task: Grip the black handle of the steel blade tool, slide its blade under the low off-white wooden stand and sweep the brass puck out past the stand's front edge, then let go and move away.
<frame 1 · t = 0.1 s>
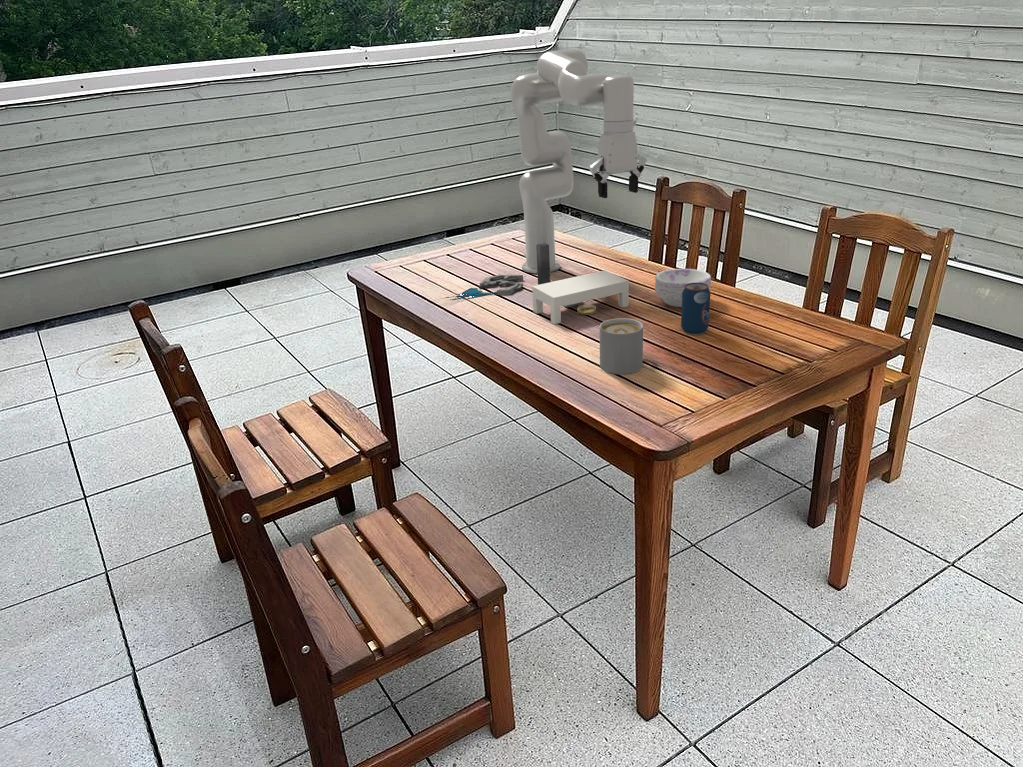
hand: (618, 194, 205), 31 cm above the table, tool pointing down, fingers open, 9 cm apart
brass puck: (586, 312, 215), on the table
low stand: (580, 308, 218), on the table
blade tool: (544, 289, 235), on the table
coffee mug: (626, 364, 182), on the table
paper bowls: (681, 302, 218), on the table
weapon: (477, 294, 236), on the table
soda can: (694, 331, 198), on the table
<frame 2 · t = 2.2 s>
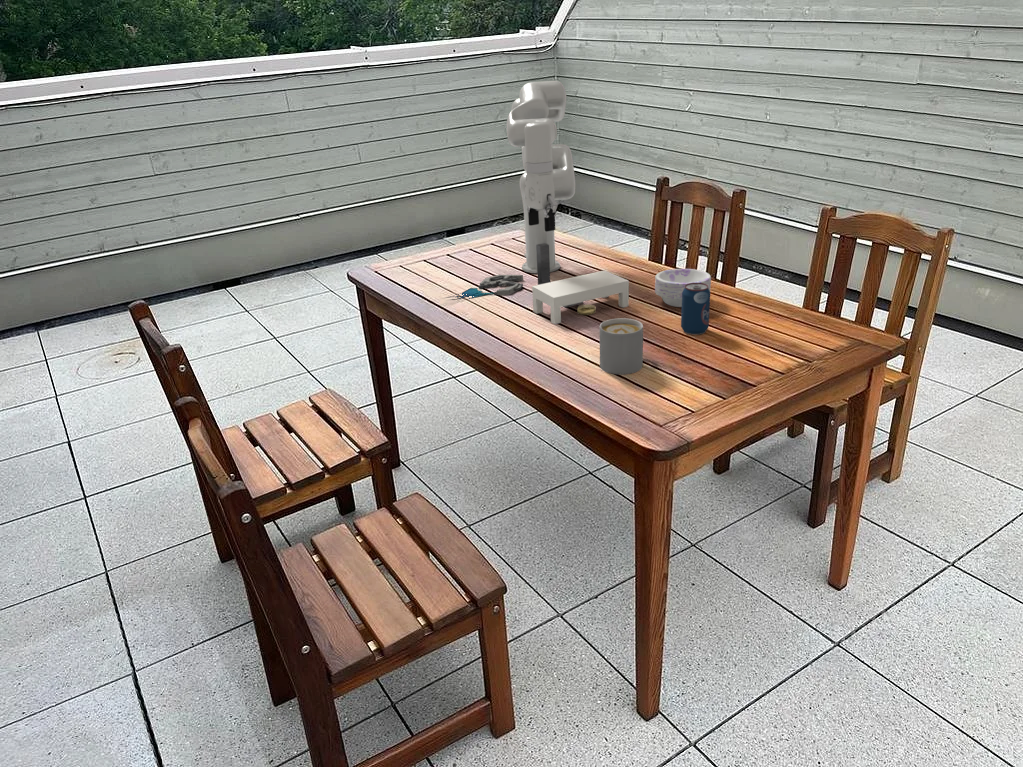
hand: (541, 227, 226), 19 cm above the table, tool pointing down, fingers open, 9 cm apart
nothing on the table moved.
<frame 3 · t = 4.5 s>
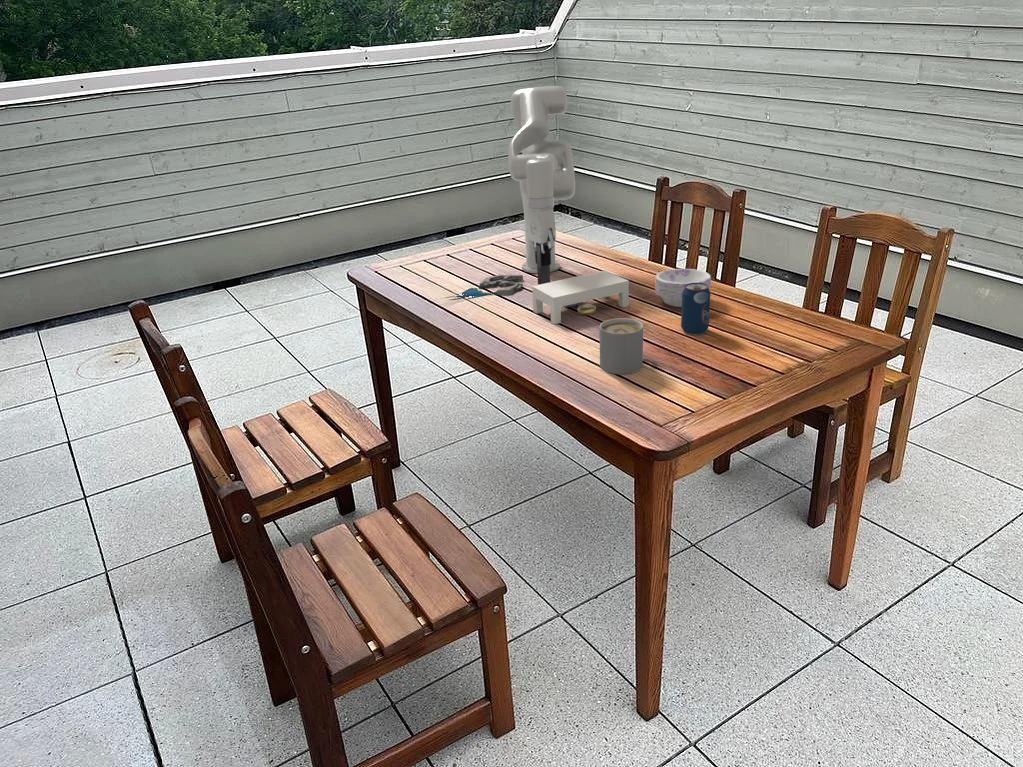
hand: (543, 263, 231), 8 cm above the table, tool pointing down, fingers closed on blade tool, 2 cm apart
blade tool: (544, 289, 235), on the table, touching gripper
everything else where it was.
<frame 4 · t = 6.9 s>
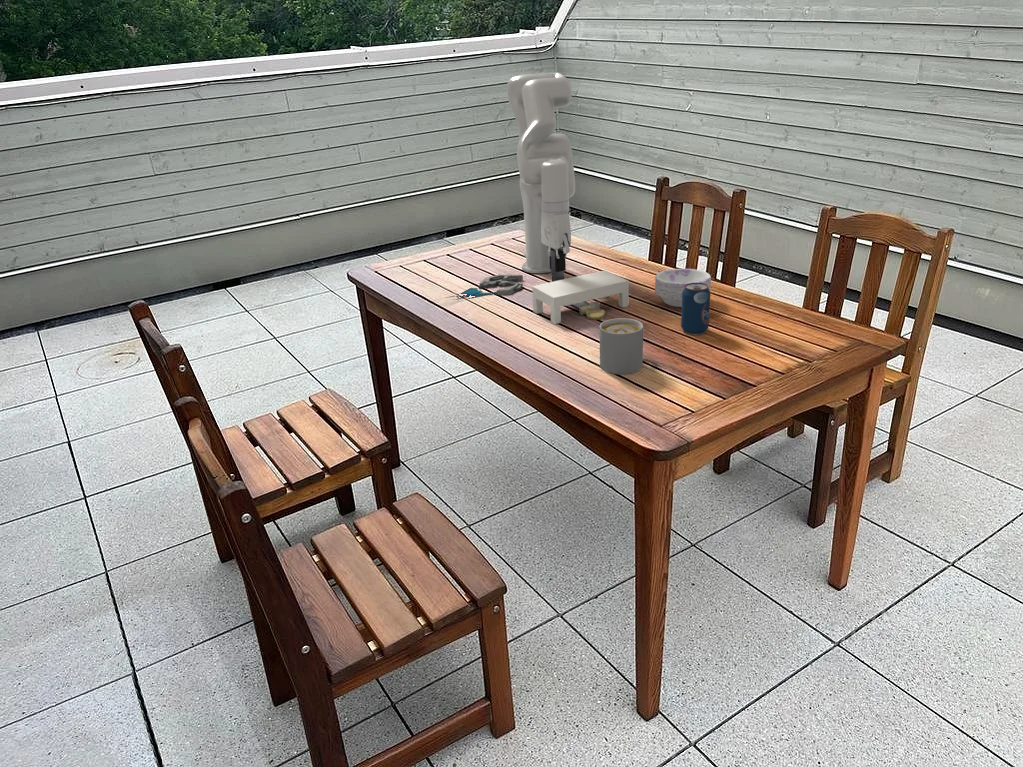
hand: (557, 269, 224), 9 cm above the table, tool pointing down, fingers closed on blade tool
brass puck: (595, 317, 211), on the table, touching blade tool
blade tool: (558, 296, 227), on the table, touching brass puck, gripper
everything else where it was.
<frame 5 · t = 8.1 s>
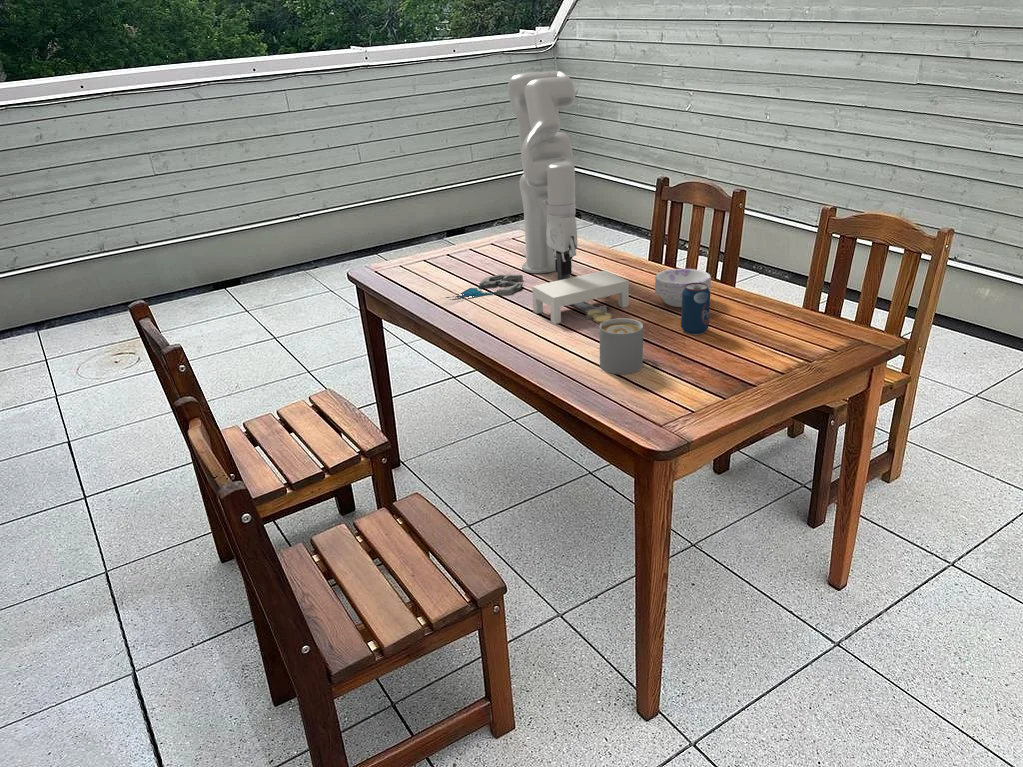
hand: (563, 272, 221), 8 cm above the table, tool pointing down, fingers closed on blade tool
brass puck: (602, 321, 209), on the table
blade tool: (564, 299, 225), on the table, touching gripper
everything else where it was.
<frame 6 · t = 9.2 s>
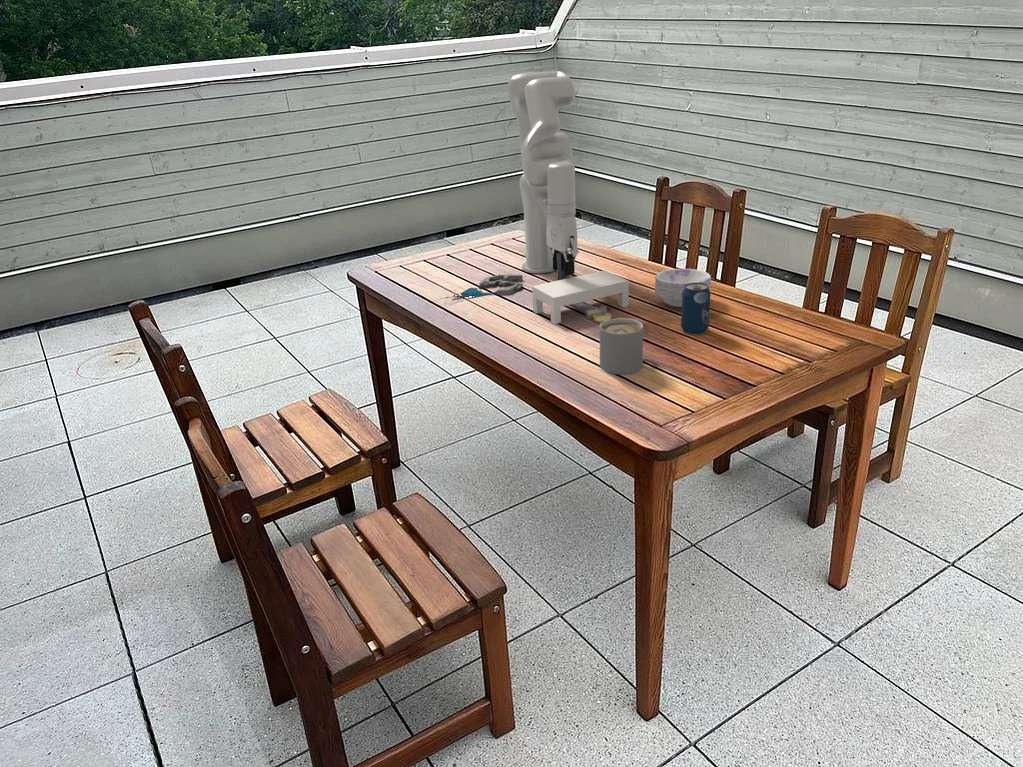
hand: (563, 271, 221), 9 cm above the table, tool pointing down, fingers open, 5 cm apart
blade tool: (564, 300, 225), on the table
everything else where it was.
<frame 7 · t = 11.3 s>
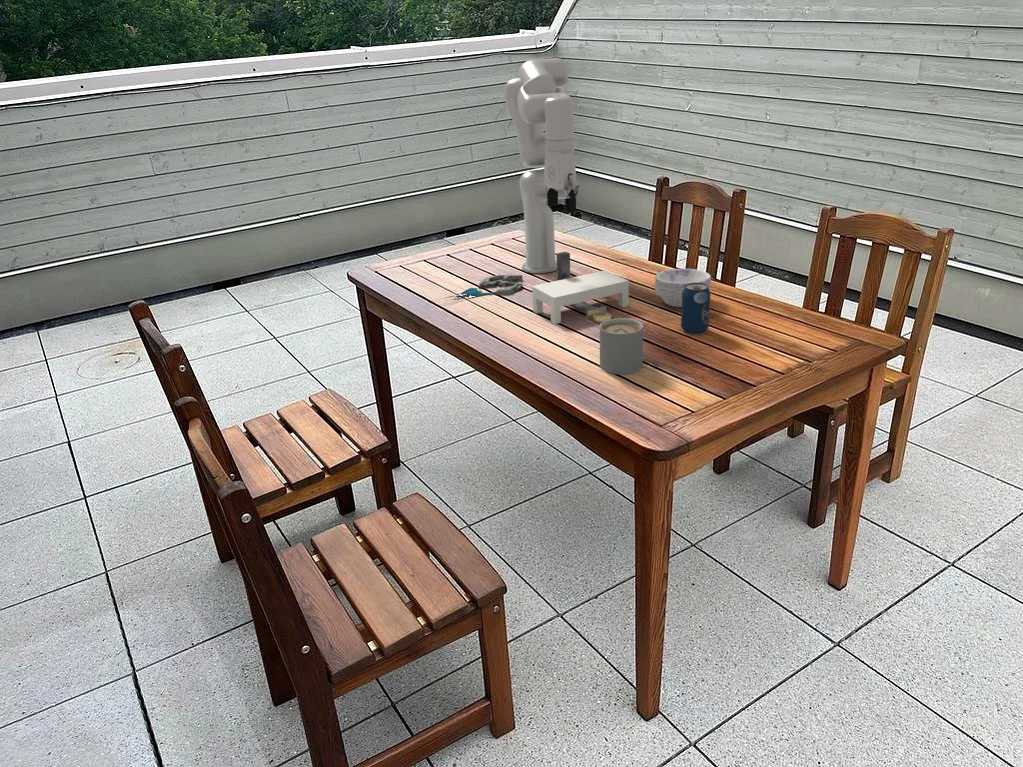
hand: (561, 209, 214), 26 cm above the table, tool pointing down, fingers open, 9 cm apart
nothing on the table moved.
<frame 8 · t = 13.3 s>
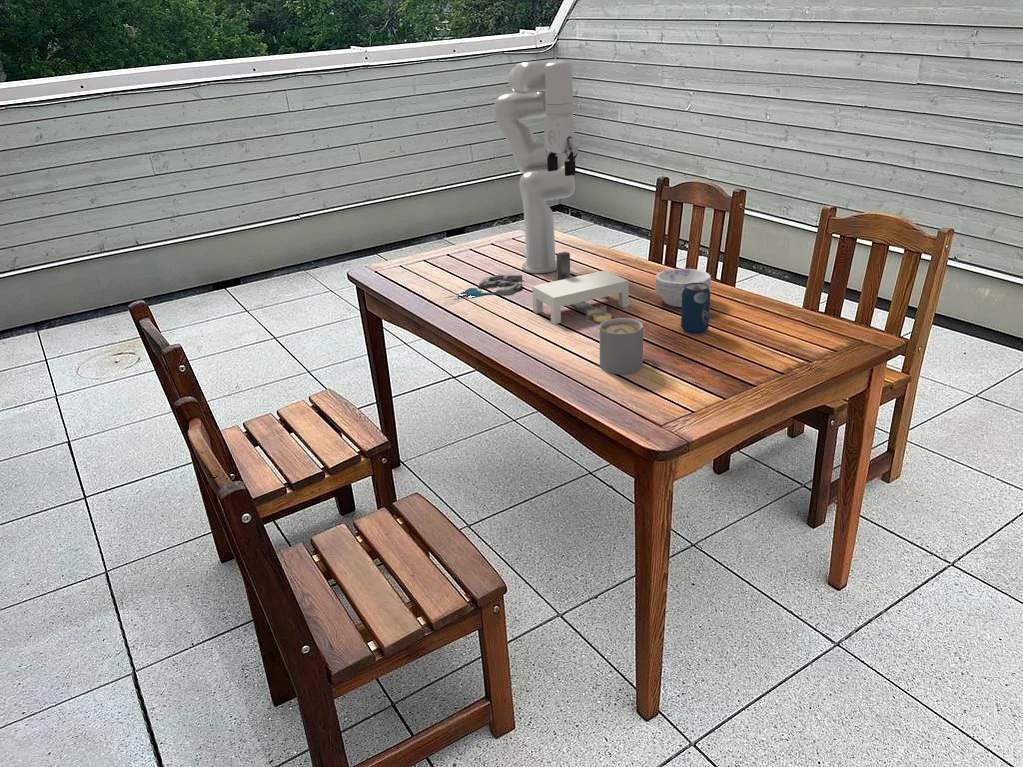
hand: (561, 173, 221), 34 cm above the table, tool pointing down, fingers open, 9 cm apart
nothing on the table moved.
at the end: brass puck inside the target area (6.9 cm from its centre), on the table; brass puck moved 7.9 cm from its start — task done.
